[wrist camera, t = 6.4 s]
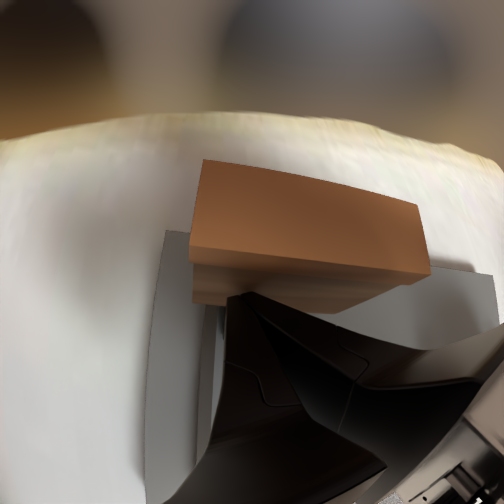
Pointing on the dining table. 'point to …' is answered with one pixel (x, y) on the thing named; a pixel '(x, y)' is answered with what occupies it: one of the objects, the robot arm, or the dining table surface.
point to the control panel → (212, 345)
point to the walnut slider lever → (299, 240)
